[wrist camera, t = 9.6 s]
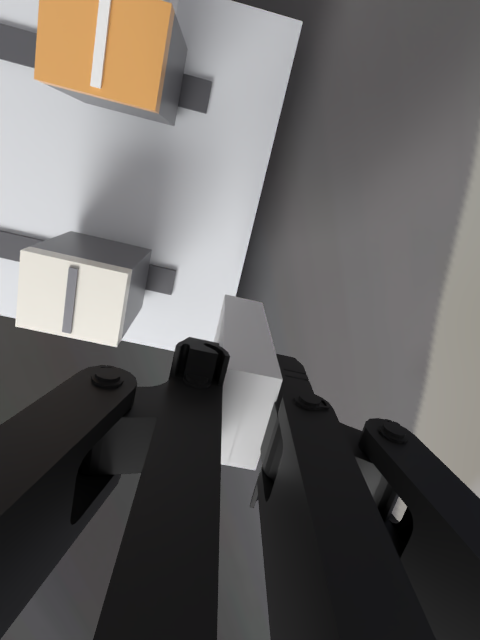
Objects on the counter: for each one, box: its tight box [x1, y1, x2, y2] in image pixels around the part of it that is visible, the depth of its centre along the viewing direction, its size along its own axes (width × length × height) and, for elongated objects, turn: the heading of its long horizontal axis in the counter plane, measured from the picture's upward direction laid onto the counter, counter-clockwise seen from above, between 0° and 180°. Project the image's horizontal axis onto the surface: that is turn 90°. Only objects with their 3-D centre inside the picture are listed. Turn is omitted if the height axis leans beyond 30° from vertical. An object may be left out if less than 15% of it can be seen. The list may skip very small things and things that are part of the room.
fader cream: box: [15, 231, 152, 347], centre depth 17 cm, size 3×4×5 cm
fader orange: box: [34, 0, 188, 126], centre depth 14 cm, size 3×4×5 cm
